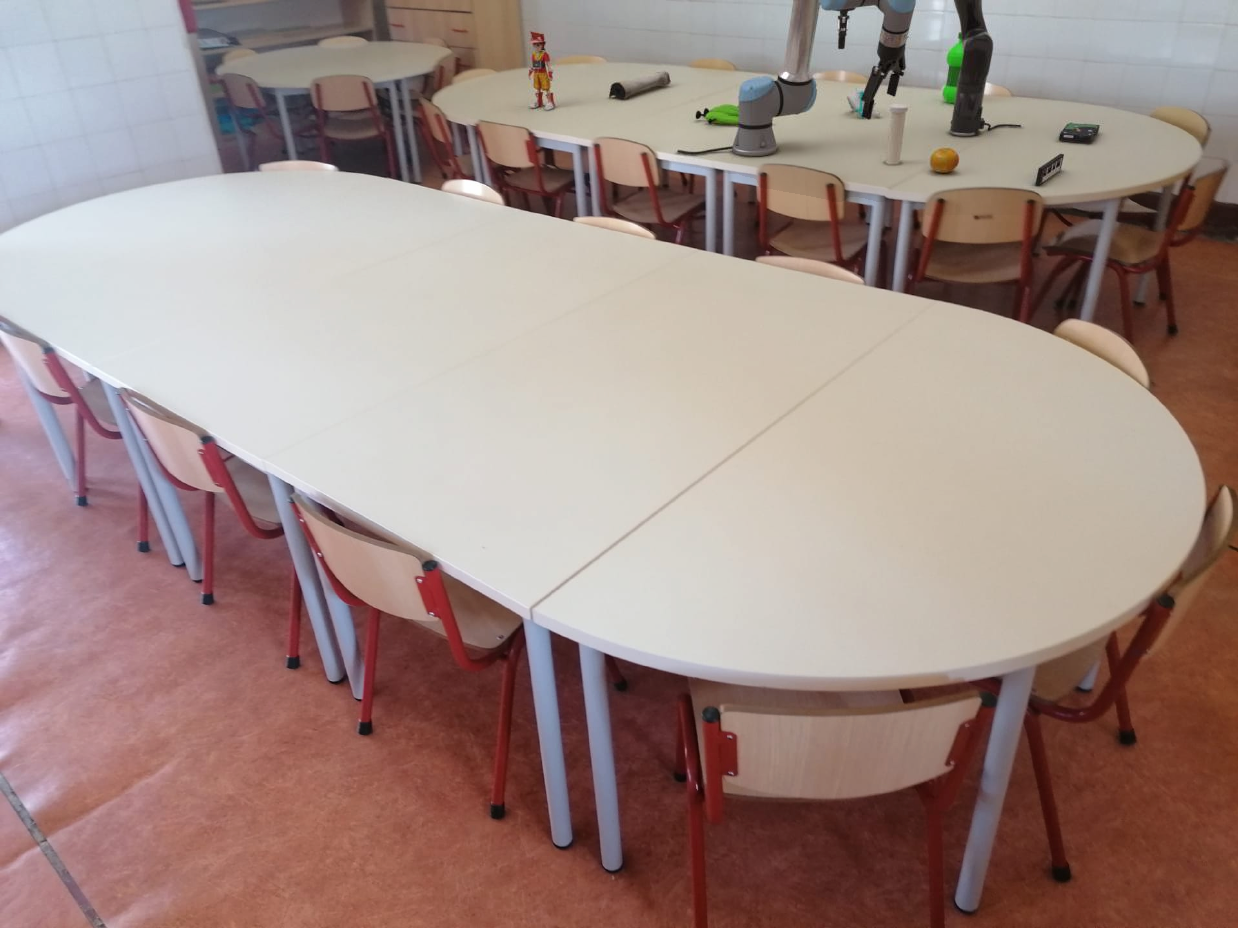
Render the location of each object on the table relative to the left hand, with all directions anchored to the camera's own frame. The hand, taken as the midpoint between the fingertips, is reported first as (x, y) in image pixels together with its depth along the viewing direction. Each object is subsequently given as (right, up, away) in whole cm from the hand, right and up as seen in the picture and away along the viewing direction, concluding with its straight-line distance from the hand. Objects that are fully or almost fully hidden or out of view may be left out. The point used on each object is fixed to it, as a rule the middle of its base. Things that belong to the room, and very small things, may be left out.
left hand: (878, 106), depth 271 cm
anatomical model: (+15, +27, +76) cm, 82 cm away
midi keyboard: (+53, -21, +3) cm, 57 cm away
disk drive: (+79, +4, +36) cm, 87 cm away
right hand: (-2, +36, +39) cm, 54 cm away
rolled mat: (-69, +56, +126) cm, 154 cm away
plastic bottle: (+54, +35, +84) cm, 106 cm away
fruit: (+24, -15, +14) cm, 32 cm away
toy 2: (-33, +25, +77) cm, 87 cm away
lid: (+11, +5, +14) cm, 19 cm away
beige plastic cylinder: (+12, -9, +24) cm, 28 cm away
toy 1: (-111, +44, +112) cm, 164 cm away
